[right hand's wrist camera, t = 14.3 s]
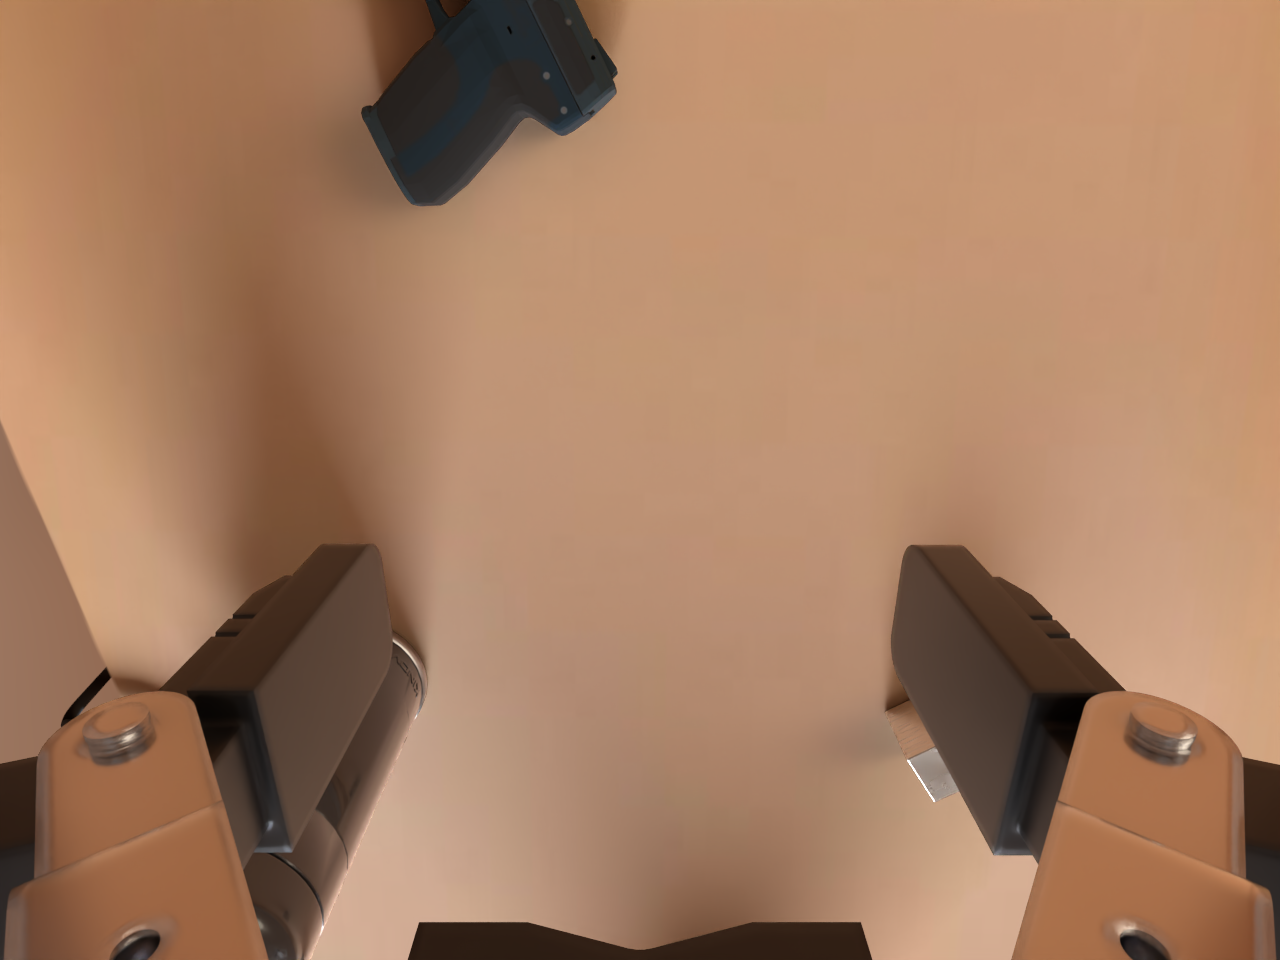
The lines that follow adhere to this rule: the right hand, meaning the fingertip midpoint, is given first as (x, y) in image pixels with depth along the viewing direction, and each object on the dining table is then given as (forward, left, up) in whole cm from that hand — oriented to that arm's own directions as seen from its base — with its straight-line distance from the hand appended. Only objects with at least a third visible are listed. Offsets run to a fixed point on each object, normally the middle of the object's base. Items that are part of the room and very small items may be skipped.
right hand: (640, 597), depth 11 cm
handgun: (-2, +18, -31) cm, 36 cm away
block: (+4, -34, -31) cm, 47 cm away
